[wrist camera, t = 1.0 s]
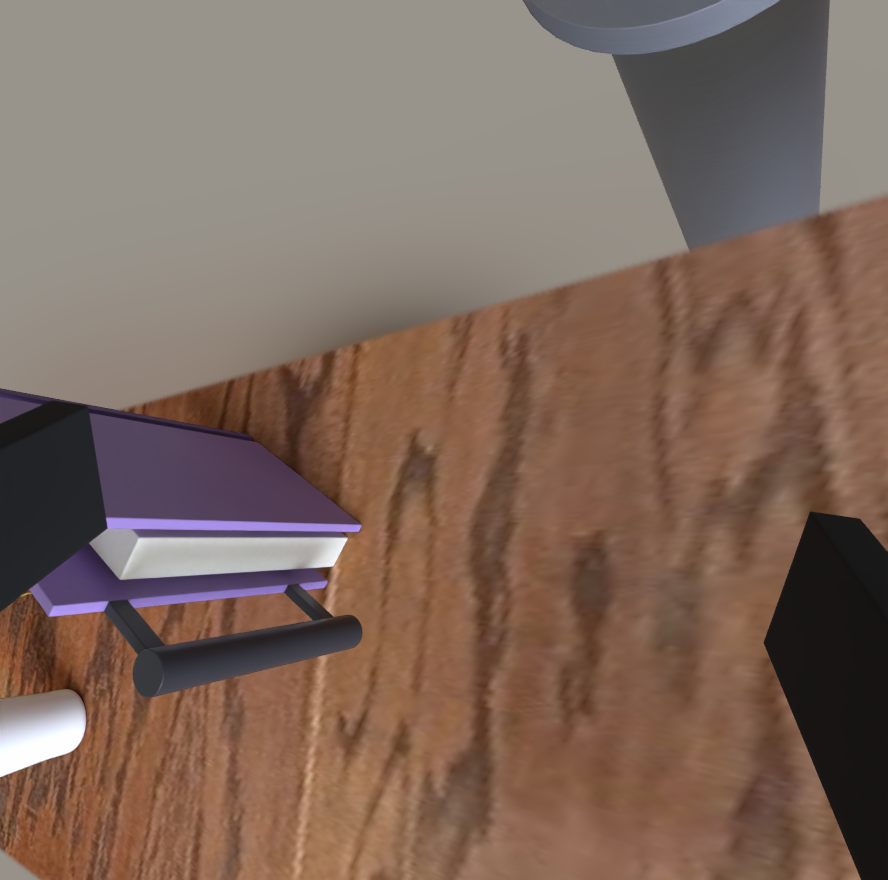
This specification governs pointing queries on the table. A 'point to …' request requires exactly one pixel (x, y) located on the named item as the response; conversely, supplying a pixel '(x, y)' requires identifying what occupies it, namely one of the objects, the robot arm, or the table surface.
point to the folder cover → (202, 661)
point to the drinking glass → (39, 728)
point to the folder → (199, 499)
